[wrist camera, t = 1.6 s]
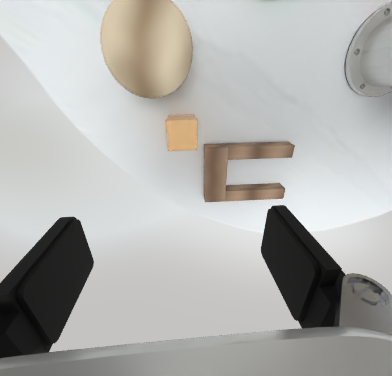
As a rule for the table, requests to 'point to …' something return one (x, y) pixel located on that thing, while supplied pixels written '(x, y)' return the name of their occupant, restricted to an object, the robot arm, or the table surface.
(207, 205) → the table surface
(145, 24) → the disc
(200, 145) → the table surface
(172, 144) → the orange-brown rectangular block
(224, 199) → the notched board
